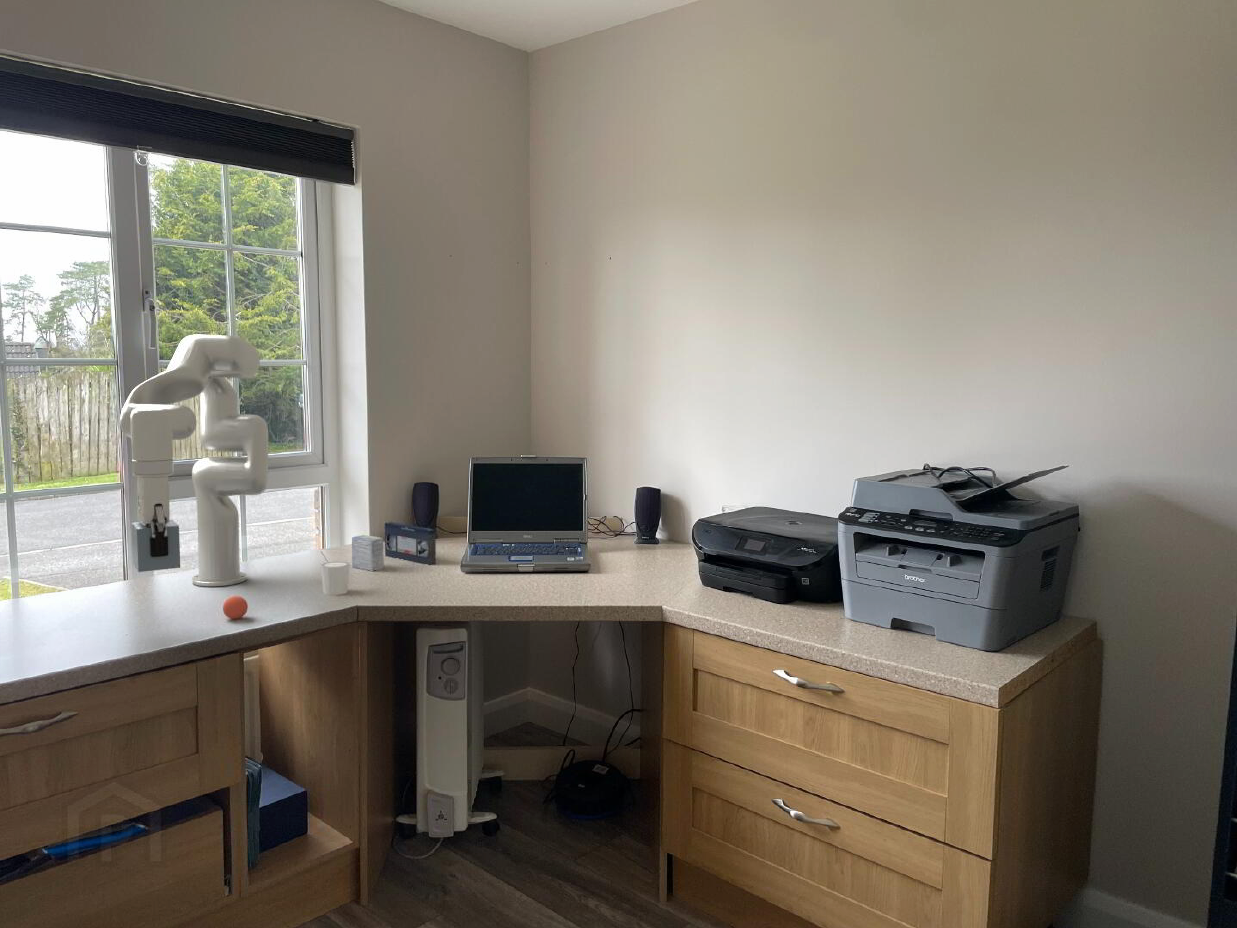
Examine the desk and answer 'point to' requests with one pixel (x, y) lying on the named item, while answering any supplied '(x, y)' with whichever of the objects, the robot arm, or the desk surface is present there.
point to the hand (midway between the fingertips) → (156, 551)
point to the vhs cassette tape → (410, 543)
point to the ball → (235, 607)
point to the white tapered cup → (335, 577)
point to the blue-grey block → (142, 548)
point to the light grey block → (367, 552)
